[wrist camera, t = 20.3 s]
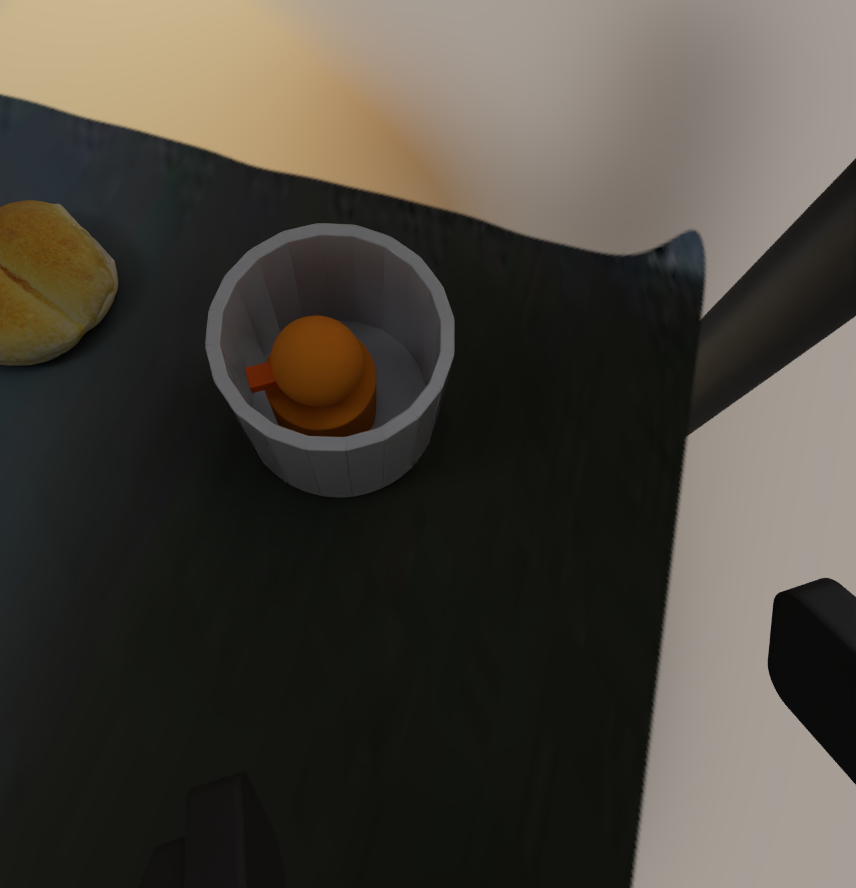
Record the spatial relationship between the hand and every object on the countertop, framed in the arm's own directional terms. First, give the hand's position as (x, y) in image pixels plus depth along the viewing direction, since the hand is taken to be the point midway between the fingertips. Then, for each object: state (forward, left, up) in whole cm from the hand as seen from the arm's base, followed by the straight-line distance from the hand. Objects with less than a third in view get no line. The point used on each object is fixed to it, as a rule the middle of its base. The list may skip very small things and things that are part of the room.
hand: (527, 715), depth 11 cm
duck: (+1, -14, -26) cm, 29 cm away
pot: (0, -14, -26) cm, 30 cm away
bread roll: (+14, -25, -26) cm, 39 cm away
